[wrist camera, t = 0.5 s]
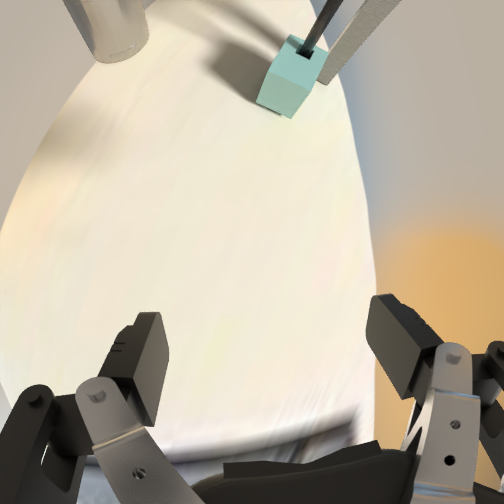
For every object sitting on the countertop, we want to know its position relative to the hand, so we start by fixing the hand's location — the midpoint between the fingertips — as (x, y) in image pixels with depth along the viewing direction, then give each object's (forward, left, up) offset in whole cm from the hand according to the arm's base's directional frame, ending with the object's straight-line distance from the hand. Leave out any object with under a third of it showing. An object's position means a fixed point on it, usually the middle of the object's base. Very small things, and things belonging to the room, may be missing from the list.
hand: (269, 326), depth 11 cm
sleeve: (-18, +15, -24) cm, 34 cm away
